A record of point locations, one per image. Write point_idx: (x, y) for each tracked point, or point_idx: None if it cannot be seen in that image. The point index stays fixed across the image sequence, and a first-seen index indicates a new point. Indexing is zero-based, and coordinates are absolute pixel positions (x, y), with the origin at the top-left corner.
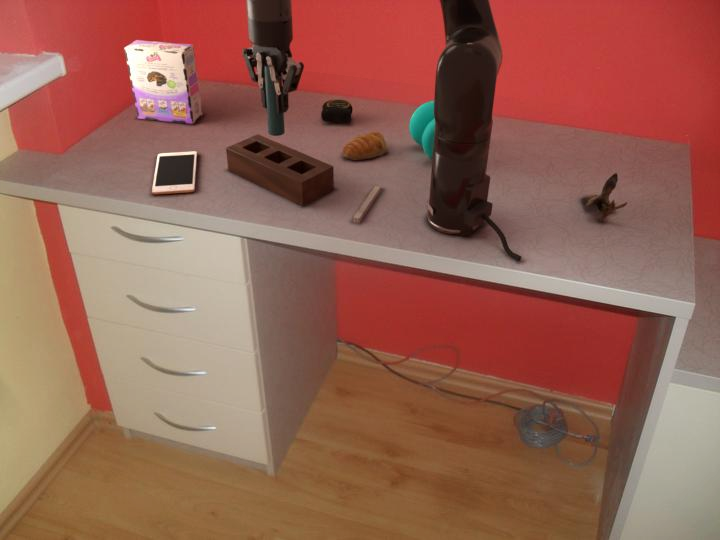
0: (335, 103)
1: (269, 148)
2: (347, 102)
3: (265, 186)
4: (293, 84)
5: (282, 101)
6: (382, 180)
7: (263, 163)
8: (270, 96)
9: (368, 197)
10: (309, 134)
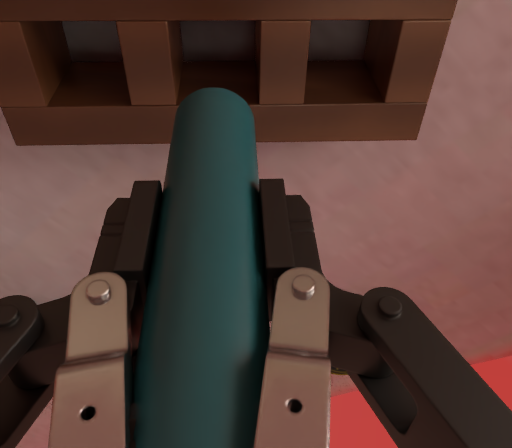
0: None
1: (298, 90)
2: (335, 372)
3: None
4: (20, 392)
5: (99, 248)
6: (17, 213)
7: None
8: (183, 241)
9: None
10: (351, 255)
